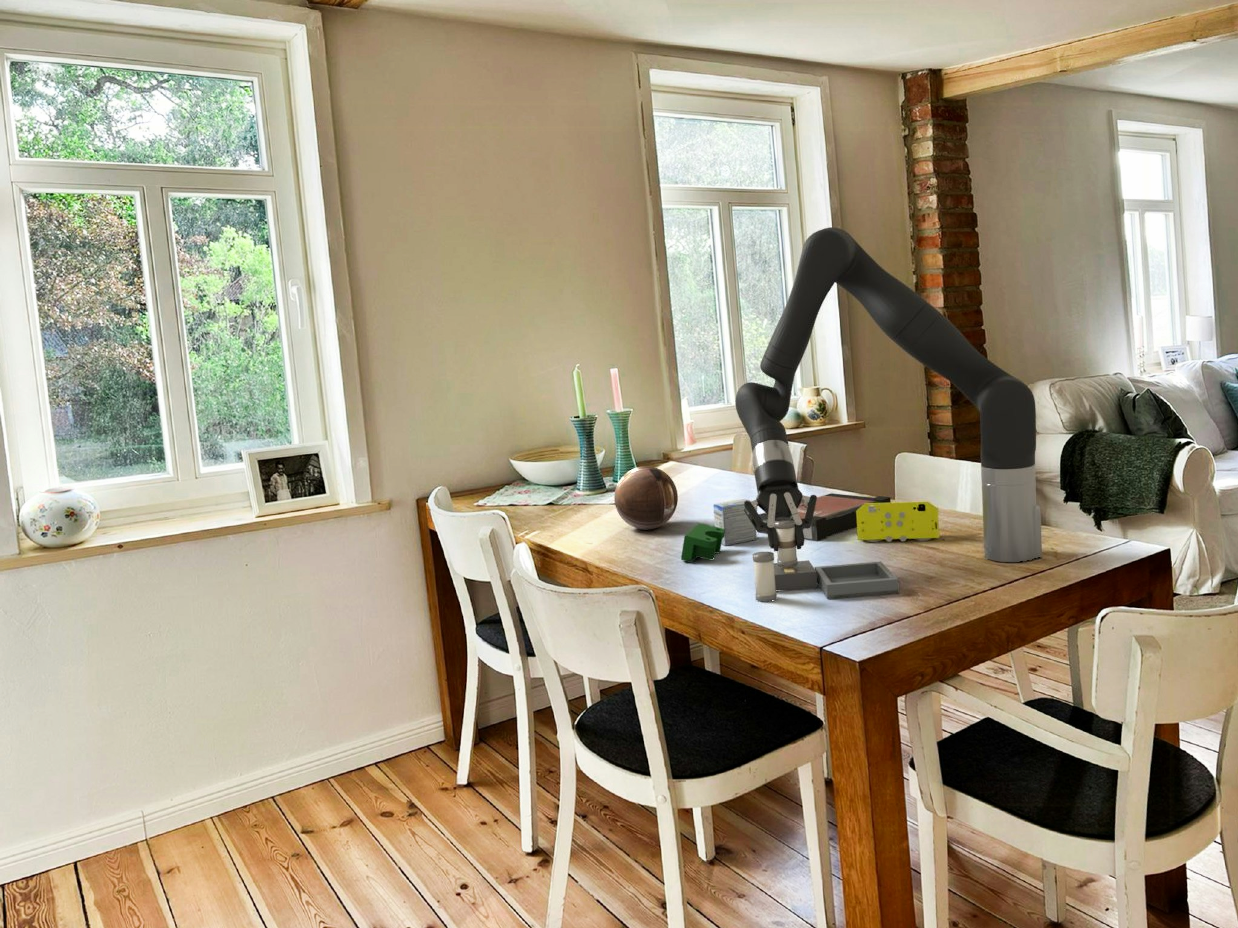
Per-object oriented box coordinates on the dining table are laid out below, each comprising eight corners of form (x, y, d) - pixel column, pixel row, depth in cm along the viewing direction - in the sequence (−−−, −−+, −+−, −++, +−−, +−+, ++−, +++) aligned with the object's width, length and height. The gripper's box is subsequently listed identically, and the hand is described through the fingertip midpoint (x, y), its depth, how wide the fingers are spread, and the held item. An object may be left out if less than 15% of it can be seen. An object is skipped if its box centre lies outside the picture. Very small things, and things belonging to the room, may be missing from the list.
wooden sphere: (607, 529, 238) (601, 468, 236) (662, 518, 244) (656, 459, 242) (634, 539, 225) (628, 474, 222) (691, 528, 231) (686, 465, 228)
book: (830, 511, 237) (828, 491, 236) (891, 518, 224) (890, 497, 223) (755, 534, 221) (754, 512, 220) (817, 543, 207) (815, 520, 207)
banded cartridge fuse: (796, 561, 179) (793, 518, 178) (799, 566, 176) (796, 522, 175) (776, 562, 179) (773, 519, 178) (779, 567, 176) (775, 524, 175)
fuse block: (809, 576, 182) (808, 559, 181) (817, 587, 174) (816, 570, 174) (760, 580, 182) (759, 563, 182) (766, 592, 174) (765, 574, 174)
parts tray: (881, 574, 178) (880, 561, 178) (898, 593, 167) (898, 579, 166) (815, 580, 179) (814, 566, 179) (827, 599, 167) (826, 584, 167)
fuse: (775, 595, 172) (772, 550, 171) (778, 601, 169) (775, 555, 167) (754, 596, 172) (751, 552, 171) (757, 602, 169) (753, 557, 167)
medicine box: (747, 536, 217) (744, 498, 216) (757, 540, 213) (754, 501, 212) (715, 542, 215) (712, 503, 213) (725, 546, 210) (722, 506, 209)
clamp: (708, 581, 200) (710, 547, 195) (680, 574, 202) (681, 540, 197) (725, 546, 209) (727, 512, 204) (698, 539, 211) (700, 506, 206)
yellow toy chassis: (857, 544, 202) (855, 504, 201) (858, 537, 208) (856, 498, 207) (939, 542, 198) (937, 501, 197) (938, 535, 203) (936, 496, 202)
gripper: (736, 461, 183) (748, 540, 172) (813, 454, 182) (829, 533, 172) (736, 484, 189) (747, 562, 178) (810, 477, 188) (826, 555, 178)
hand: (788, 547), depth 175 cm, fingers closed on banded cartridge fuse, 3 cm apart
